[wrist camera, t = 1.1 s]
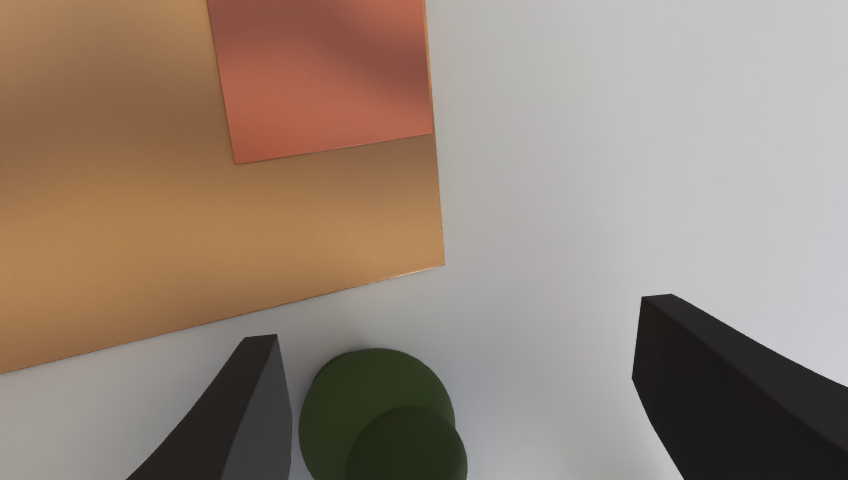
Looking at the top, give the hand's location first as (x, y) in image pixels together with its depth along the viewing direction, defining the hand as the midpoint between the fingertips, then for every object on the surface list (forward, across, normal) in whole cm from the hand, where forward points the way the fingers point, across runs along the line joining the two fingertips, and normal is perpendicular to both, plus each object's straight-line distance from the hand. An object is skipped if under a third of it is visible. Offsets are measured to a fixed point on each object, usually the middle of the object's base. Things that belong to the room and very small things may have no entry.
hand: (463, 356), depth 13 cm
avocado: (+10, +3, +9) cm, 13 cm away
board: (+10, +7, -2) cm, 13 cm away
